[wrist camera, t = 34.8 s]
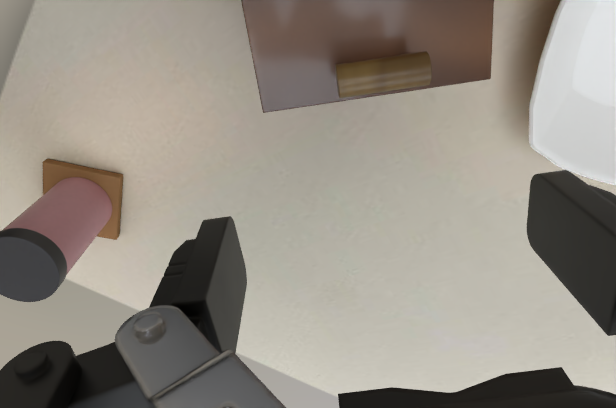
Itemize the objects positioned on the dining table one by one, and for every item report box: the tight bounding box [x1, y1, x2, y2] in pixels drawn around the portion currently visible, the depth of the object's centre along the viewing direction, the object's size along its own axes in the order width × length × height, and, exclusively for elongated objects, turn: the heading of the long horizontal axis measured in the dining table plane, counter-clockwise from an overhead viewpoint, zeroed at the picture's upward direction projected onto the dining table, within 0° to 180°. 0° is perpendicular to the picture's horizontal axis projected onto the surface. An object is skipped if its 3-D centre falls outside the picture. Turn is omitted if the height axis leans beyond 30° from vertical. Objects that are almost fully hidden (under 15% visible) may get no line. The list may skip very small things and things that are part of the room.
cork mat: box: [43, 159, 123, 240], centre depth 40 cm, size 6×6×1 cm
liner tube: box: [0, 177, 112, 302], centre depth 35 cm, size 5×5×10 cm
